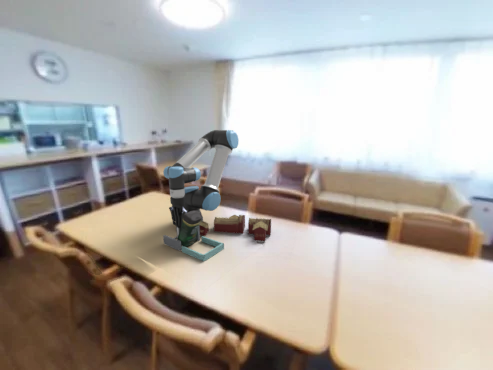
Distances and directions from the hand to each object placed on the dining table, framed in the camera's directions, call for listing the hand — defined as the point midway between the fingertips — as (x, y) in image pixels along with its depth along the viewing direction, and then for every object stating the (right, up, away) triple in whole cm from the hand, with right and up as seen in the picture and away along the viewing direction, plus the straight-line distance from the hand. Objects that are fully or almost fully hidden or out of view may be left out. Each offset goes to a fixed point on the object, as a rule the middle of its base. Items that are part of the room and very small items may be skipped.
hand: (180, 237), depth 130 cm
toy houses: (+28, 0, +13) cm, 31 cm away
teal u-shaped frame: (+14, -5, -9) cm, 17 cm away
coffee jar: (+4, -2, -2) cm, 5 cm away
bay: (+1, -3, 0) cm, 3 cm away
